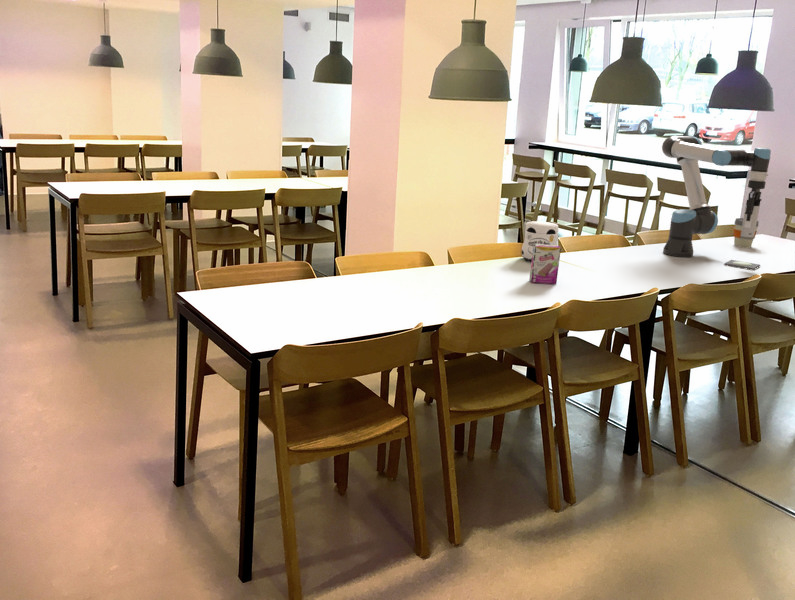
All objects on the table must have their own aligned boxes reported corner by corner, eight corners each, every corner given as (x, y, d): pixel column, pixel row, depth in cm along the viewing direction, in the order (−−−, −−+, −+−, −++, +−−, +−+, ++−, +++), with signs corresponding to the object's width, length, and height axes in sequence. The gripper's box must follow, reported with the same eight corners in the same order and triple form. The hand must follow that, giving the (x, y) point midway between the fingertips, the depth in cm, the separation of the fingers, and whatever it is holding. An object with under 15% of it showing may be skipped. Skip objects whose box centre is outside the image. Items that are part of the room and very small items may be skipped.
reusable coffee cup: (725, 243, 444) (730, 218, 440) (743, 243, 448) (748, 218, 444) (741, 248, 433) (745, 222, 429) (759, 248, 437) (764, 222, 432)
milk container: (532, 265, 362) (536, 227, 357) (514, 257, 378) (517, 221, 373) (563, 263, 369) (567, 227, 364) (544, 256, 384) (547, 220, 379)
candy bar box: (531, 283, 328) (535, 246, 323) (528, 280, 332) (532, 243, 328) (557, 284, 328) (561, 247, 324) (554, 281, 333) (558, 244, 328)
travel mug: (752, 240, 378) (759, 199, 373) (738, 238, 382) (745, 198, 376) (755, 238, 383) (763, 198, 377) (741, 236, 387) (748, 197, 381)
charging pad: (724, 265, 386) (724, 262, 386) (731, 261, 395) (731, 259, 395) (753, 270, 378) (753, 267, 377) (760, 266, 387) (760, 264, 386)
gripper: (760, 182, 365) (751, 230, 371) (770, 179, 380) (762, 225, 386) (743, 180, 369) (735, 227, 376) (754, 178, 384) (746, 223, 390)
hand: (749, 226), depth 381 cm, fingers closed on travel mug, 6 cm apart
